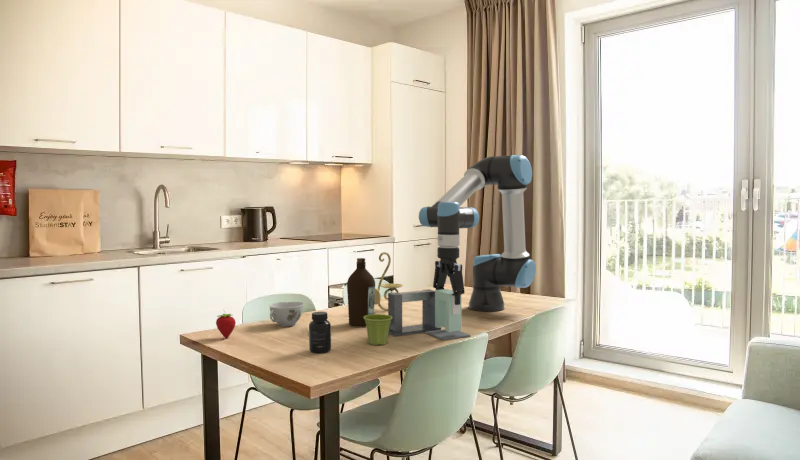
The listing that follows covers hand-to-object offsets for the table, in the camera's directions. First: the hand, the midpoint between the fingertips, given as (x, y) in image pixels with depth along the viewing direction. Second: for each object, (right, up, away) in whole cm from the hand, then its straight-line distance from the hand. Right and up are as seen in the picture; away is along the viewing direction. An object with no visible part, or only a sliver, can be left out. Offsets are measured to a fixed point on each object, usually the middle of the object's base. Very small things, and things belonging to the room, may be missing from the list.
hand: (448, 311), depth 194 cm
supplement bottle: (-42, -10, -19) cm, 47 cm away
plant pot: (-24, -9, -10) cm, 27 cm away
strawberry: (-76, -9, -3) cm, 77 cm away
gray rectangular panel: (0, -8, +1) cm, 8 cm away
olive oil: (-31, -8, +17) cm, 36 cm away
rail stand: (-12, -8, +7) cm, 16 cm away
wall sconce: (-22, -6, +42) cm, 48 cm away
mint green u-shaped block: (0, -6, 0) cm, 6 cm away
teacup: (-60, -8, +15) cm, 62 cm away
